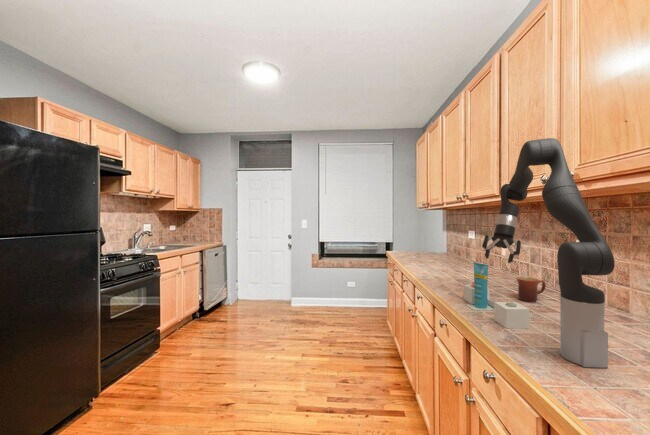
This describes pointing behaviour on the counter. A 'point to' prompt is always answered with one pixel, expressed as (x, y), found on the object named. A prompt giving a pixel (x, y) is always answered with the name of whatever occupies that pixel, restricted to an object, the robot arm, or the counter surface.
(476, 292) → the tube
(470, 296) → the grey block
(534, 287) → the mug
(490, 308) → the pad
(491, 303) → the rail
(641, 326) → the counter surface
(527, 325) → the block with green button
